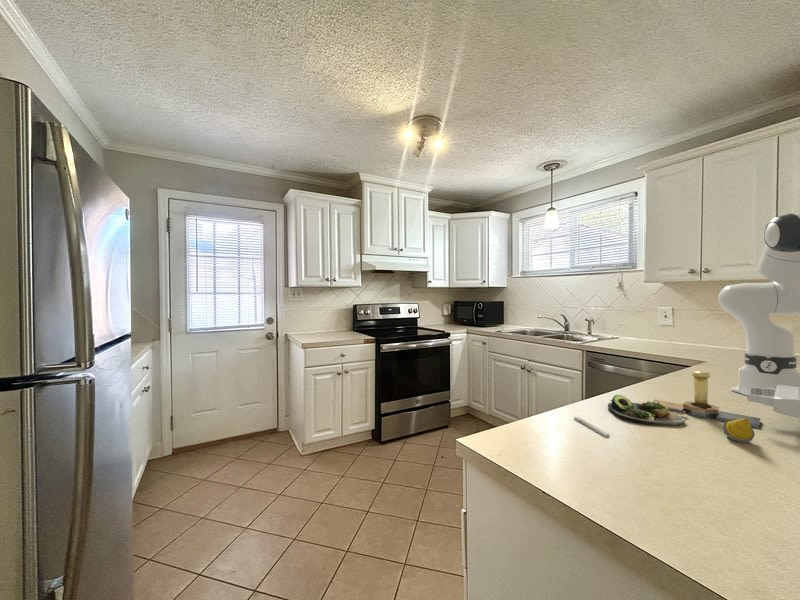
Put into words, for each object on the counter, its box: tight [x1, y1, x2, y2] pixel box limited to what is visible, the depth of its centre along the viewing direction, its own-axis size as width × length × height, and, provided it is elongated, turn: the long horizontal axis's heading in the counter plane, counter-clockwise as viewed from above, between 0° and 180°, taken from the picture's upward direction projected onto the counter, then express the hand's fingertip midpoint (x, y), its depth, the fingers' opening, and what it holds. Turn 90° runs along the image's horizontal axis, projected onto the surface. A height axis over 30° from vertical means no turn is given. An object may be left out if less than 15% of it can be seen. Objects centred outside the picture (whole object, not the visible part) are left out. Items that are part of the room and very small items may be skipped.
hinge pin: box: [691, 370, 711, 408], centre depth 98 cm, size 4×4×12 cm
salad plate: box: [607, 394, 687, 426], centre depth 98 cm, size 19×18×5 cm
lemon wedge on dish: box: [722, 418, 755, 444], centre depth 79 cm, size 5×5×10 cm
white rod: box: [573, 416, 611, 438], centre depth 89 cm, size 12×1×1 cm, turn 6°
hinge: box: [651, 398, 761, 429], centre depth 98 cm, size 7×23×2 cm, turn 40°
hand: (749, 393), depth 91 cm, fingers open, 8 cm apart
